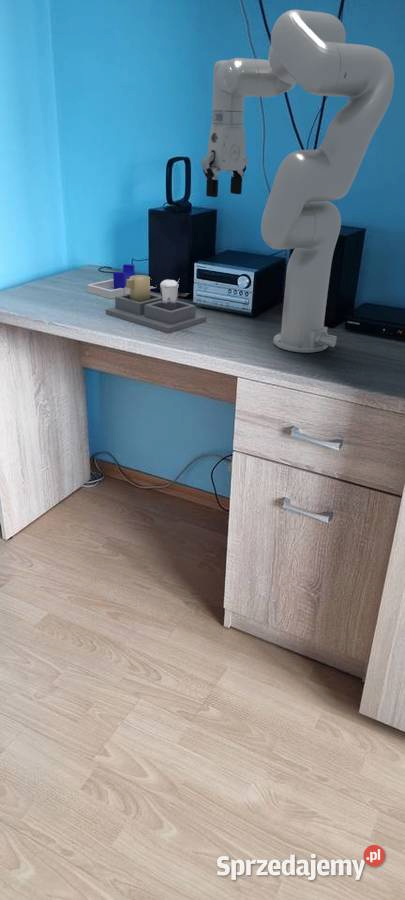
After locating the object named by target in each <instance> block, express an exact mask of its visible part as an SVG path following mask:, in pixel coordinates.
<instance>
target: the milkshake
mask: <svg viewBox="0 0 405 900" xmlns="http://www.w3.org/2000/svg"><path fill="white" fill-rule="evenodd" d="M179 280H180V278H179V279H178V280H177V281H176V280H175V279H164V280H162V281H161V282H160V284H159V285H160V287H159V288H160V296H161V300H162V309H166V310H169V311H172V310H176V309H177V301H178V297H179V296H178V288H179V284H178V283H179Z"/></svg>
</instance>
